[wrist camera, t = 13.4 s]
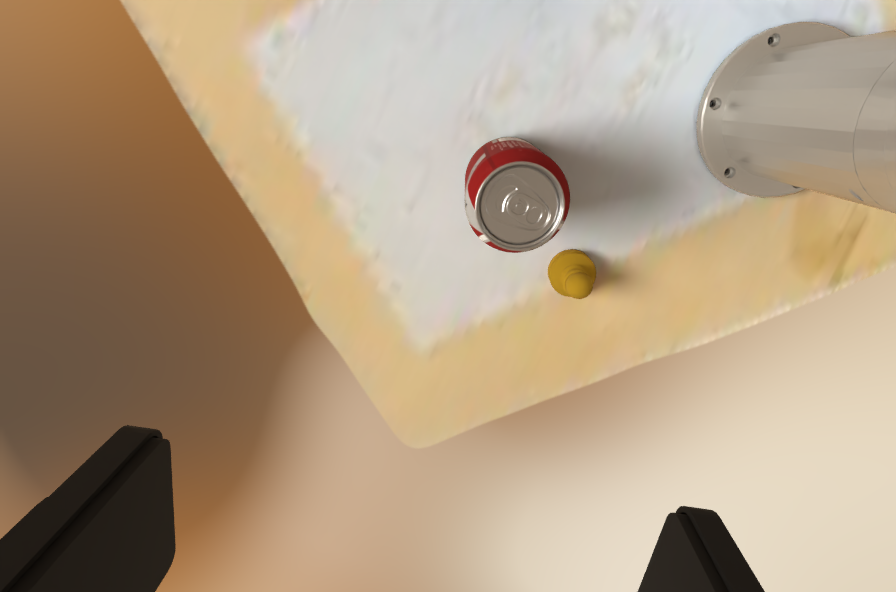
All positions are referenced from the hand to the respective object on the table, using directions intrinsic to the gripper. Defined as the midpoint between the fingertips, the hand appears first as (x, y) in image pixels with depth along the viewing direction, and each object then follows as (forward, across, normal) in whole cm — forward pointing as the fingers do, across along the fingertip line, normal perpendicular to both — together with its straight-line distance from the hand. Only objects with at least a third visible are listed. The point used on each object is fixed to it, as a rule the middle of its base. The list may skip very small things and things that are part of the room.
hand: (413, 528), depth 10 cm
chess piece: (+36, -11, +5) cm, 38 cm away
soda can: (+36, -4, -2) cm, 37 cm away
